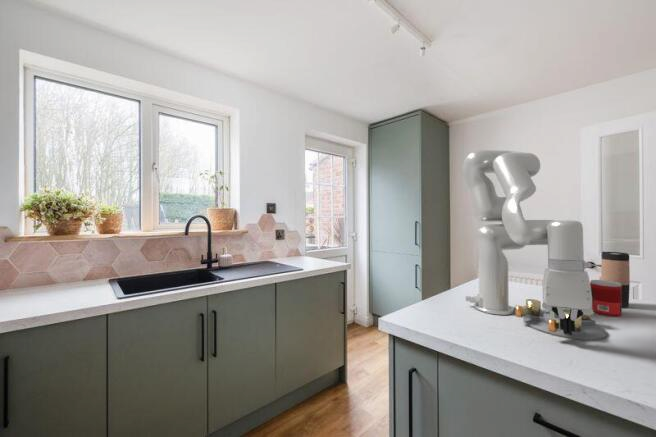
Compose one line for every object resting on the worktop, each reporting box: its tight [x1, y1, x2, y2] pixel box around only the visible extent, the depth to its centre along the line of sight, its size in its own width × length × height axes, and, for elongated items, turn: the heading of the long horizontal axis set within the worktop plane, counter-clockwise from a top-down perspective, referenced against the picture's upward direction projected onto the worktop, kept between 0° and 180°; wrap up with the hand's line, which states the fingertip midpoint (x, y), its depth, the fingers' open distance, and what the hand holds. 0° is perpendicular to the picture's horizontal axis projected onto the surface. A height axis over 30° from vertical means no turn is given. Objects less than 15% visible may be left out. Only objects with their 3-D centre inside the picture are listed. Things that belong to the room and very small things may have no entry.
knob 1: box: [515, 298, 542, 318], centre depth 93 cm, size 12×4×4 cm, turn 119°
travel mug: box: [600, 251, 631, 309], centre depth 108 cm, size 8×8×20 cm
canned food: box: [590, 279, 623, 318], centre depth 100 cm, size 8×8×11 cm
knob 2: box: [548, 312, 581, 332], centre depth 81 cm, size 12×4×4 cm, turn 110°
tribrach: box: [522, 307, 607, 341], centre depth 89 cm, size 20×20×8 cm
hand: (567, 332), depth 77 cm, fingers closed
